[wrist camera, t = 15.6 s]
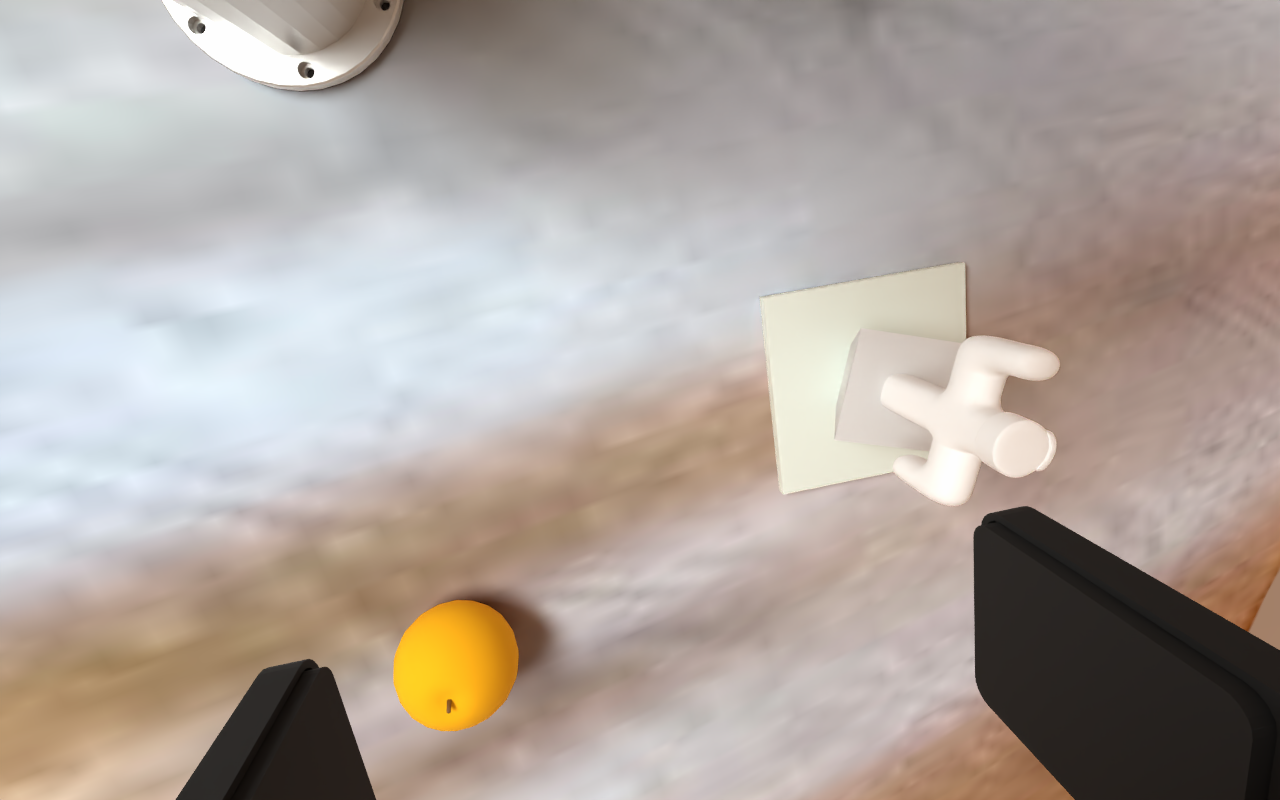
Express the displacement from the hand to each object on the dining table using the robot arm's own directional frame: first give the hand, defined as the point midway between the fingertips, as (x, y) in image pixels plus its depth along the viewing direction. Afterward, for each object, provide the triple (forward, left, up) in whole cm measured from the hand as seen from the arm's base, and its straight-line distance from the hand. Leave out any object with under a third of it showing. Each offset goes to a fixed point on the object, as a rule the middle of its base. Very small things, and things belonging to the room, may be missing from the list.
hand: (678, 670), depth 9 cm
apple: (+20, -12, -34) cm, 41 cm away
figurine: (+7, +19, -33) cm, 38 cm away
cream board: (+7, +19, -33) cm, 39 cm away
